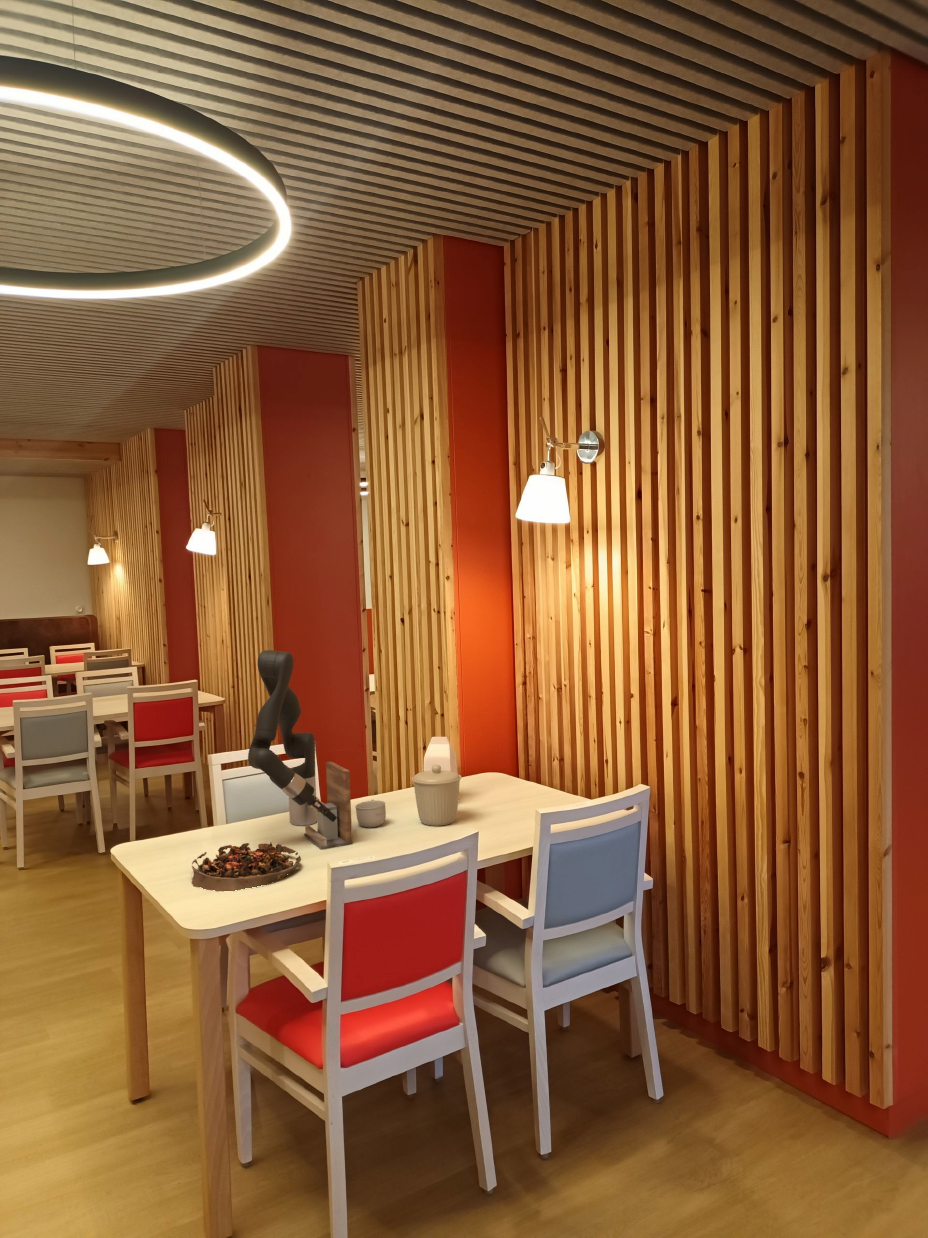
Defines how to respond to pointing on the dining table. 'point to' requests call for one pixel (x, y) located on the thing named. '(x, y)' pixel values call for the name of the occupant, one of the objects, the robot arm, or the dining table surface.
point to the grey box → (328, 823)
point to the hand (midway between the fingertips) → (330, 817)
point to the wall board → (341, 798)
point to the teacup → (371, 813)
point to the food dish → (243, 867)
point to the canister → (437, 795)
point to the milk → (440, 755)
